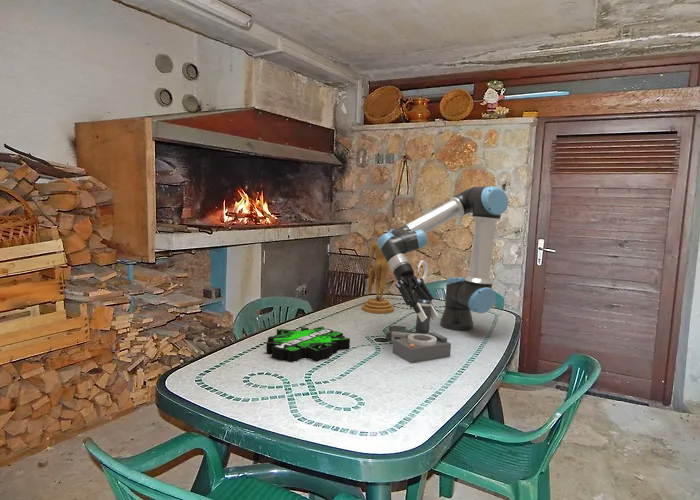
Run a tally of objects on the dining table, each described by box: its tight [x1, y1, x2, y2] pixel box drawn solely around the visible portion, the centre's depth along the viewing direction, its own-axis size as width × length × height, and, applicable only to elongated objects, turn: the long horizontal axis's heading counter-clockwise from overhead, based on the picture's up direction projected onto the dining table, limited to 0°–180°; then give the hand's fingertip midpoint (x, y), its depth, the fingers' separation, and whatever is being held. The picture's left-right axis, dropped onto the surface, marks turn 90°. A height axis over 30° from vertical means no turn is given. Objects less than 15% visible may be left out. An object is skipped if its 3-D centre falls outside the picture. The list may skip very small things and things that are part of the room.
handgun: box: [385, 325, 430, 343], centre depth 196 cm, size 4×22×15 cm
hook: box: [413, 259, 429, 304], centre depth 257 cm, size 11×11×25 cm
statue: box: [361, 229, 395, 315], centre depth 242 cm, size 17×17×41 cm
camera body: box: [392, 331, 452, 364], centre depth 177 cm, size 18×12×7 cm, turn 118°
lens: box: [414, 299, 433, 334], centre depth 175 cm, size 5×5×12 cm
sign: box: [265, 326, 351, 363], centre depth 180 cm, size 33×4×30 cm
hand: (429, 318), depth 173 cm, fingers closed on lens, 5 cm apart
